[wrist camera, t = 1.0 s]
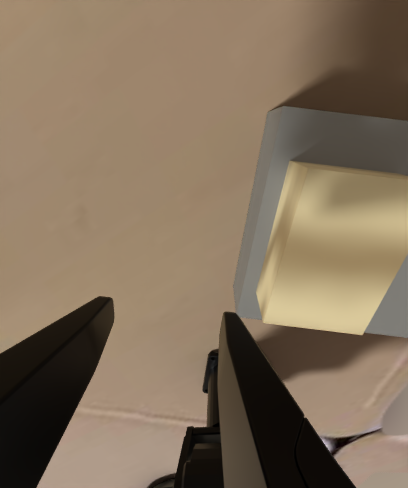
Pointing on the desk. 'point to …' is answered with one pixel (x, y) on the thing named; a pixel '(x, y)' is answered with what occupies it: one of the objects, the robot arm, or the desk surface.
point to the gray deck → (327, 153)
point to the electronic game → (166, 484)
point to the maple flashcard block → (333, 247)
